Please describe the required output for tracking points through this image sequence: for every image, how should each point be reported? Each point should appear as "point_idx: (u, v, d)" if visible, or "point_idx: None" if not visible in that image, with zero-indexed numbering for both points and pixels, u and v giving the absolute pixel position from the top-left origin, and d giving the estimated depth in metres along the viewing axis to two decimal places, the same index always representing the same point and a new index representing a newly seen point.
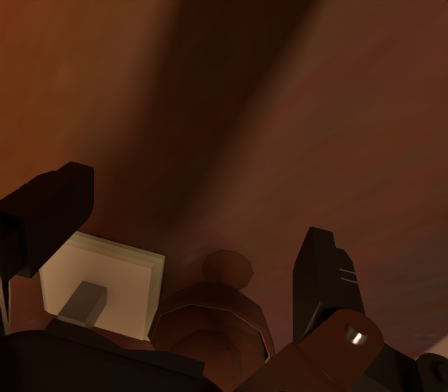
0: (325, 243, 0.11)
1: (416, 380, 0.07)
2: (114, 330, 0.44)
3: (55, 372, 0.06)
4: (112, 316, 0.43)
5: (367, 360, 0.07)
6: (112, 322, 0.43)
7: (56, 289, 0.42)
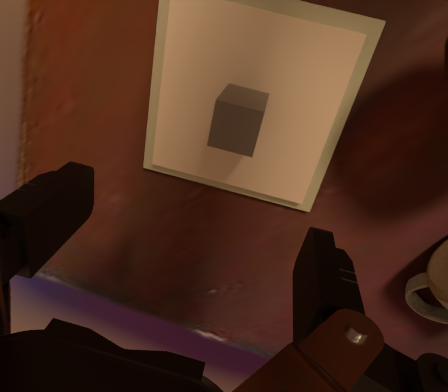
0: (325, 243, 0.11)
1: (416, 380, 0.07)
2: (258, 188, 0.28)
3: (55, 372, 0.06)
4: (262, 158, 0.27)
5: (367, 360, 0.07)
6: (259, 171, 0.28)
7: (178, 110, 0.26)
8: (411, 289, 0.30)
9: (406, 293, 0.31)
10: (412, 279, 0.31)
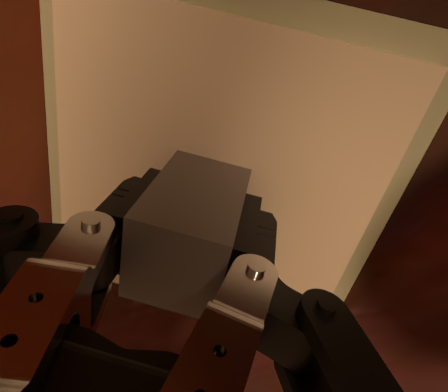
0: (251, 205, 0.12)
1: (304, 318, 0.08)
2: None
3: (55, 372, 0.06)
4: None
5: (256, 291, 0.08)
6: None
7: (93, 190, 0.15)
8: None
9: None
10: None
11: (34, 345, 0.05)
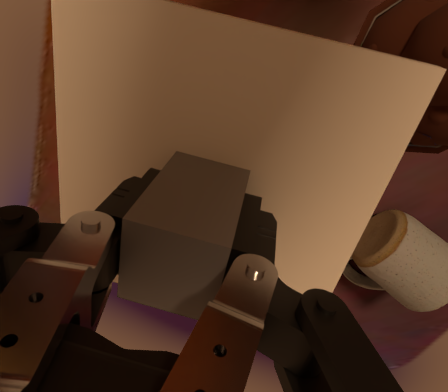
0: (251, 205, 0.12)
1: (304, 318, 0.08)
2: None
3: (55, 372, 0.06)
4: None
5: (256, 290, 0.08)
6: None
7: (93, 191, 0.15)
8: None
9: None
10: None
11: (35, 345, 0.05)
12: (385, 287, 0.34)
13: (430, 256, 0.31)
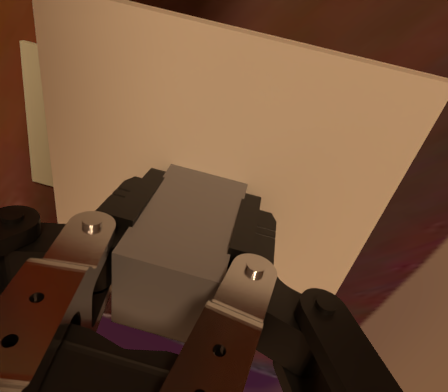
0: (251, 205, 0.12)
1: (303, 318, 0.08)
2: None
3: (55, 372, 0.06)
4: None
5: (255, 290, 0.08)
6: None
7: (88, 201, 0.15)
8: None
9: None
10: None
11: (35, 345, 0.05)
12: None
13: None
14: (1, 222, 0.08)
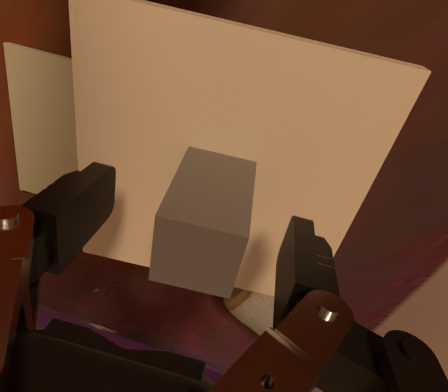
0: (305, 230, 0.11)
1: (383, 358, 0.08)
2: (243, 284, 0.19)
3: (55, 372, 0.06)
4: (248, 248, 0.18)
5: (335, 335, 0.08)
6: (243, 264, 0.18)
7: None
8: None
9: (224, 300, 0.39)
10: None
11: None
12: (250, 328, 0.34)
13: None
14: None
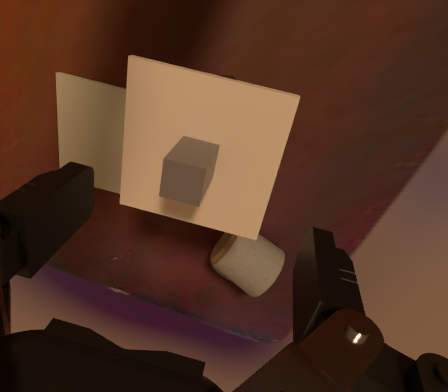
0: (325, 243, 0.11)
1: (416, 380, 0.07)
2: (215, 226, 0.31)
3: (55, 372, 0.06)
4: (217, 200, 0.30)
5: (367, 360, 0.07)
6: (215, 211, 0.30)
7: (140, 157, 0.29)
8: None
9: (211, 263, 0.51)
10: None
11: None
12: (230, 279, 0.46)
13: (252, 257, 0.44)
14: None
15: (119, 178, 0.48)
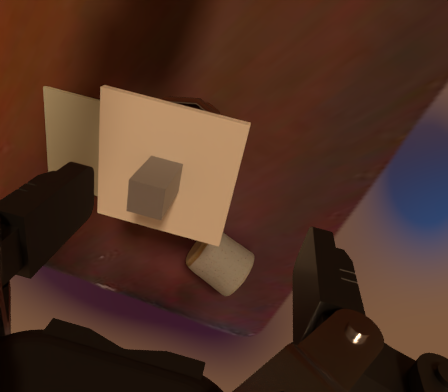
0: (325, 243, 0.11)
1: (416, 380, 0.07)
2: (183, 233, 0.35)
3: (55, 372, 0.06)
4: (183, 211, 0.33)
5: (367, 360, 0.07)
6: (182, 221, 0.34)
7: (114, 173, 0.33)
8: None
9: None
10: None
11: None
12: (203, 279, 0.51)
13: (223, 260, 0.48)
14: None
15: None
